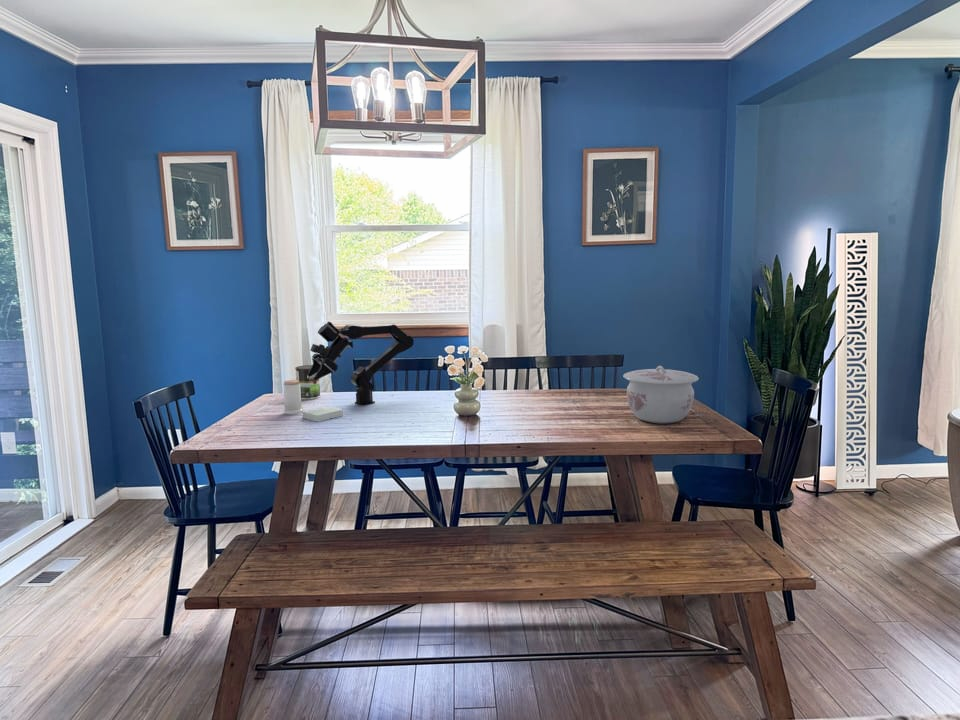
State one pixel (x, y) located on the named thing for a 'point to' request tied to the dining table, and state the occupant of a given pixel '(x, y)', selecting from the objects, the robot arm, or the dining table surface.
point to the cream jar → (292, 397)
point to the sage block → (322, 413)
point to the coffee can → (307, 383)
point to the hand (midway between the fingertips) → (311, 377)
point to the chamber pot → (660, 394)
